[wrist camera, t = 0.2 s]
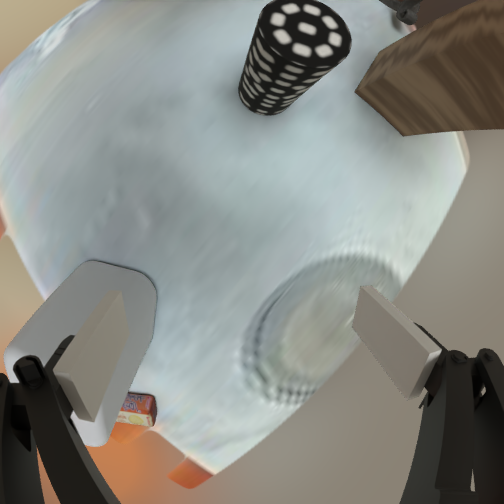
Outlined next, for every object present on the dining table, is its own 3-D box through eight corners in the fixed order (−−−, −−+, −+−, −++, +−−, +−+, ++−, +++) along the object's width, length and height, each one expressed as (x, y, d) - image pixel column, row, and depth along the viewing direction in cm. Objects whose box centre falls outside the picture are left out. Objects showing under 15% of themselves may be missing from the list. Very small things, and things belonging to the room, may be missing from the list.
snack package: (155, 391, 48) (150, 415, 41) (158, 411, 50) (155, 434, 43) (66, 375, 45) (55, 394, 38) (74, 395, 46) (65, 414, 40)
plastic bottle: (78, 253, 39) (-35, 340, 12) (161, 274, 41) (101, 408, 15) (78, 329, 42) (8, 436, 15) (152, 349, 45) (118, 484, 18)
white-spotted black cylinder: (232, 107, 36) (247, 50, 17) (245, 61, 34) (270, -14, 15) (286, 122, 37) (345, 82, 18) (297, 76, 35) (355, 16, 16)
